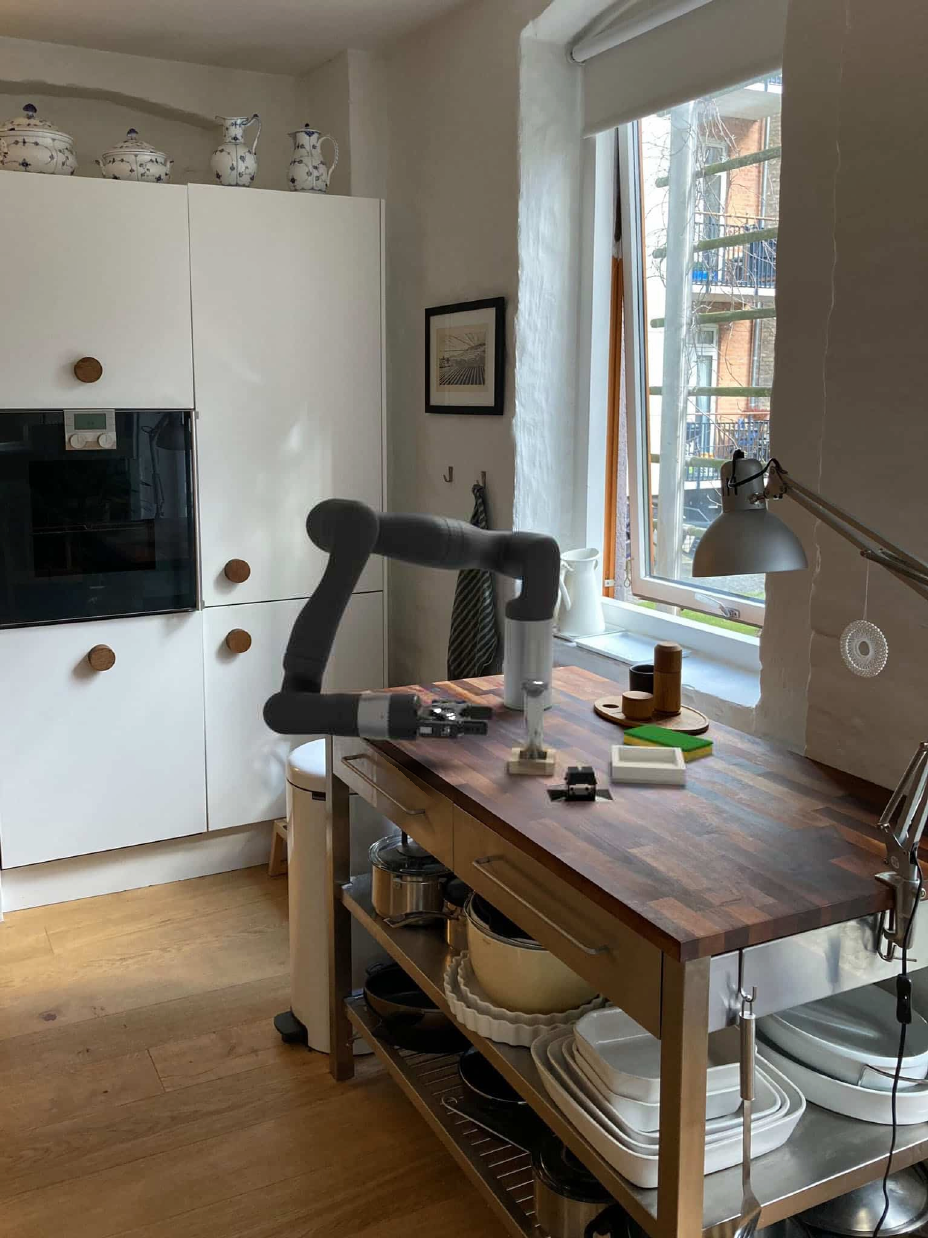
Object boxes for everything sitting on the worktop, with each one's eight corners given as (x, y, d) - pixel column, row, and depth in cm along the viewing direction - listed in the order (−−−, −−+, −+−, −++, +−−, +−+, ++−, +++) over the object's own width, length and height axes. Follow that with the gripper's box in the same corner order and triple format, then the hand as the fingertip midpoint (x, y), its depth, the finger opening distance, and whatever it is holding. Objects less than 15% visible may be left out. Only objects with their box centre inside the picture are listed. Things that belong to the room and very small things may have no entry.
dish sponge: (686, 763, 183) (686, 749, 183) (622, 744, 193) (622, 730, 193) (713, 755, 188) (714, 741, 187) (649, 736, 198) (649, 723, 197)
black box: (617, 790, 170) (618, 761, 169) (626, 807, 163) (627, 777, 162) (535, 791, 170) (536, 762, 169) (540, 808, 163) (541, 777, 162)
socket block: (512, 759, 183) (512, 747, 183) (555, 761, 182) (555, 749, 182) (509, 773, 176) (509, 761, 176) (553, 775, 175) (554, 762, 175)
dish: (611, 760, 183) (611, 745, 183) (679, 762, 182) (680, 748, 181) (612, 781, 172) (612, 766, 172) (685, 785, 171) (686, 769, 171)
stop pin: (519, 762, 181) (521, 677, 179) (547, 763, 181) (549, 678, 178) (517, 771, 177) (519, 684, 175) (545, 772, 177) (547, 685, 174)
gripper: (381, 705, 173) (486, 709, 171) (397, 683, 187) (494, 686, 185) (381, 752, 174) (485, 756, 172) (397, 726, 188) (494, 730, 186)
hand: (490, 720), depth 179 cm, fingers open, 8 cm apart
